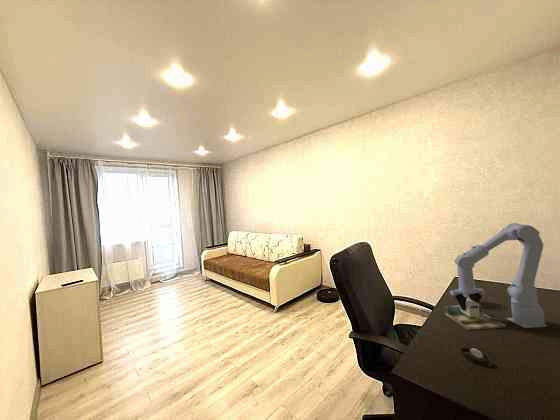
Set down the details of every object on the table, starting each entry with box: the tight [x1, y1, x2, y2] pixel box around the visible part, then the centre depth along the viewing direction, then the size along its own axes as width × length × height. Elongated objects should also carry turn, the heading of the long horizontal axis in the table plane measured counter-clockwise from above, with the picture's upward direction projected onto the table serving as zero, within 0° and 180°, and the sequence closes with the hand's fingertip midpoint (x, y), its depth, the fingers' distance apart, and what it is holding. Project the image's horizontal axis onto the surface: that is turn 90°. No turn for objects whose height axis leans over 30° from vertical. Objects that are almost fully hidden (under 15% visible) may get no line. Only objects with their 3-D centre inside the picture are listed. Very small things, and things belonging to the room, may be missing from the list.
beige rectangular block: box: [458, 298, 480, 317], centre depth 105 cm, size 4×6×6 cm
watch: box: [461, 347, 490, 366], centre depth 79 cm, size 8×5×4 cm, turn 33°
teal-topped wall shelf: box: [444, 304, 507, 331], centre depth 104 cm, size 16×14×4 cm
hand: (468, 309), depth 106 cm, fingers closed on beige rectangular block, 4 cm apart
